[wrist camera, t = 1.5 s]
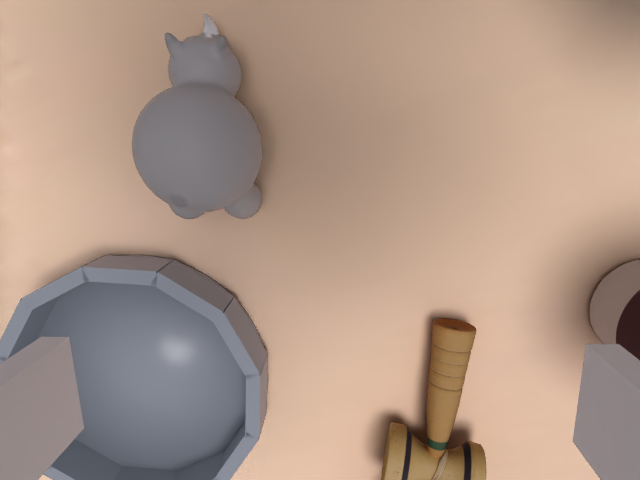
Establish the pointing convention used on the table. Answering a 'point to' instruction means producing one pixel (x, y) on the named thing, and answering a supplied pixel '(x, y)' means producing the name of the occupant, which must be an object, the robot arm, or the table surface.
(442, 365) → the kendama
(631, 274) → the coffee cup
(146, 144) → the round bodied animal figurine
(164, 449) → the round tray
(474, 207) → the table surface
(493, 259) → the table surface
